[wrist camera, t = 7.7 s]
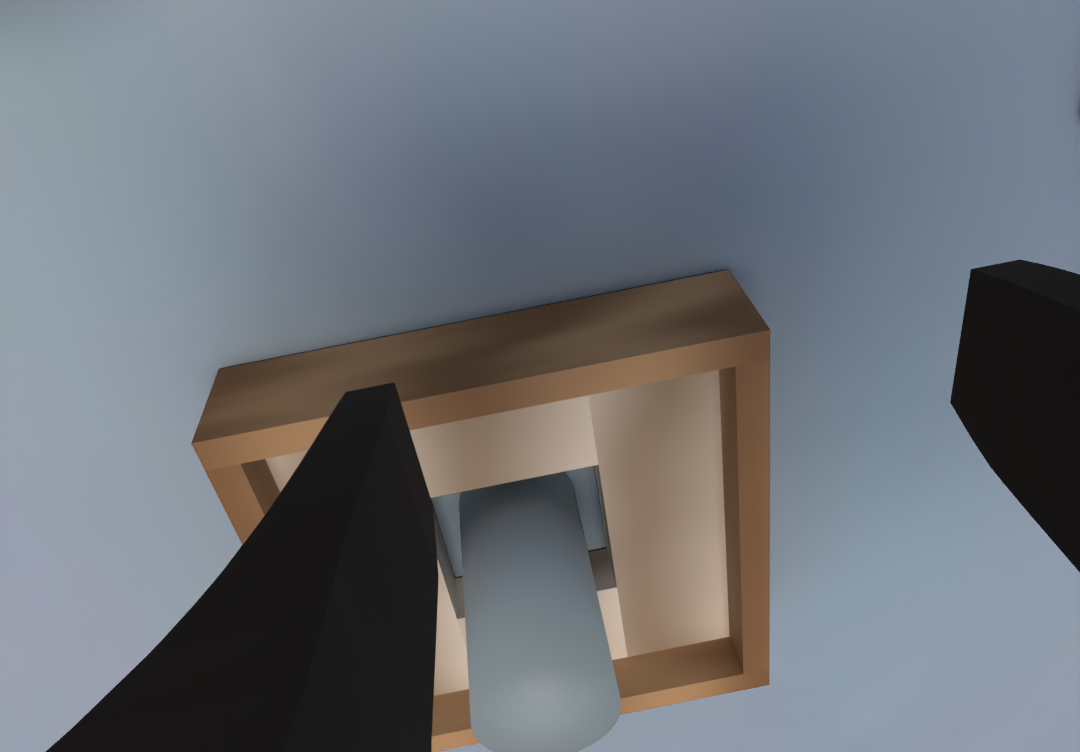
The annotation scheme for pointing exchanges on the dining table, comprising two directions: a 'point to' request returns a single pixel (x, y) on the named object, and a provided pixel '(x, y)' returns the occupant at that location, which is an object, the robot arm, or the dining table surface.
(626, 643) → the tray box
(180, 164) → the dining table surface
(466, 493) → the peg
